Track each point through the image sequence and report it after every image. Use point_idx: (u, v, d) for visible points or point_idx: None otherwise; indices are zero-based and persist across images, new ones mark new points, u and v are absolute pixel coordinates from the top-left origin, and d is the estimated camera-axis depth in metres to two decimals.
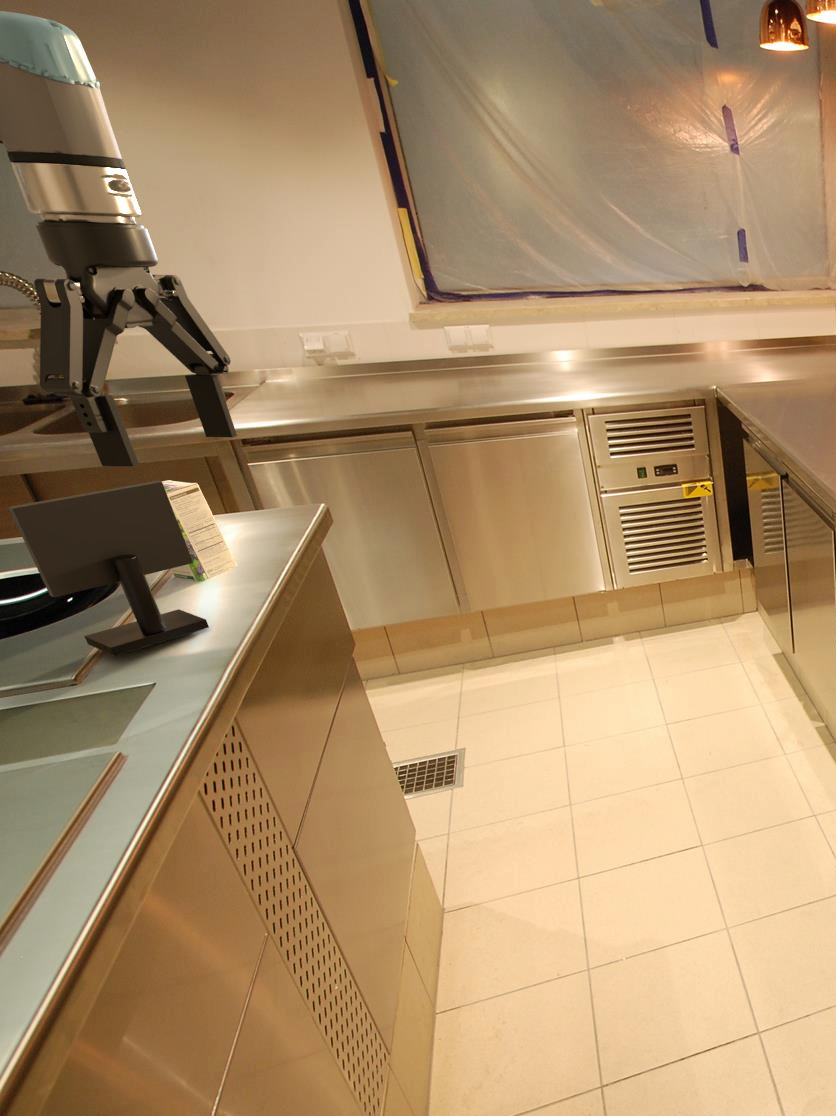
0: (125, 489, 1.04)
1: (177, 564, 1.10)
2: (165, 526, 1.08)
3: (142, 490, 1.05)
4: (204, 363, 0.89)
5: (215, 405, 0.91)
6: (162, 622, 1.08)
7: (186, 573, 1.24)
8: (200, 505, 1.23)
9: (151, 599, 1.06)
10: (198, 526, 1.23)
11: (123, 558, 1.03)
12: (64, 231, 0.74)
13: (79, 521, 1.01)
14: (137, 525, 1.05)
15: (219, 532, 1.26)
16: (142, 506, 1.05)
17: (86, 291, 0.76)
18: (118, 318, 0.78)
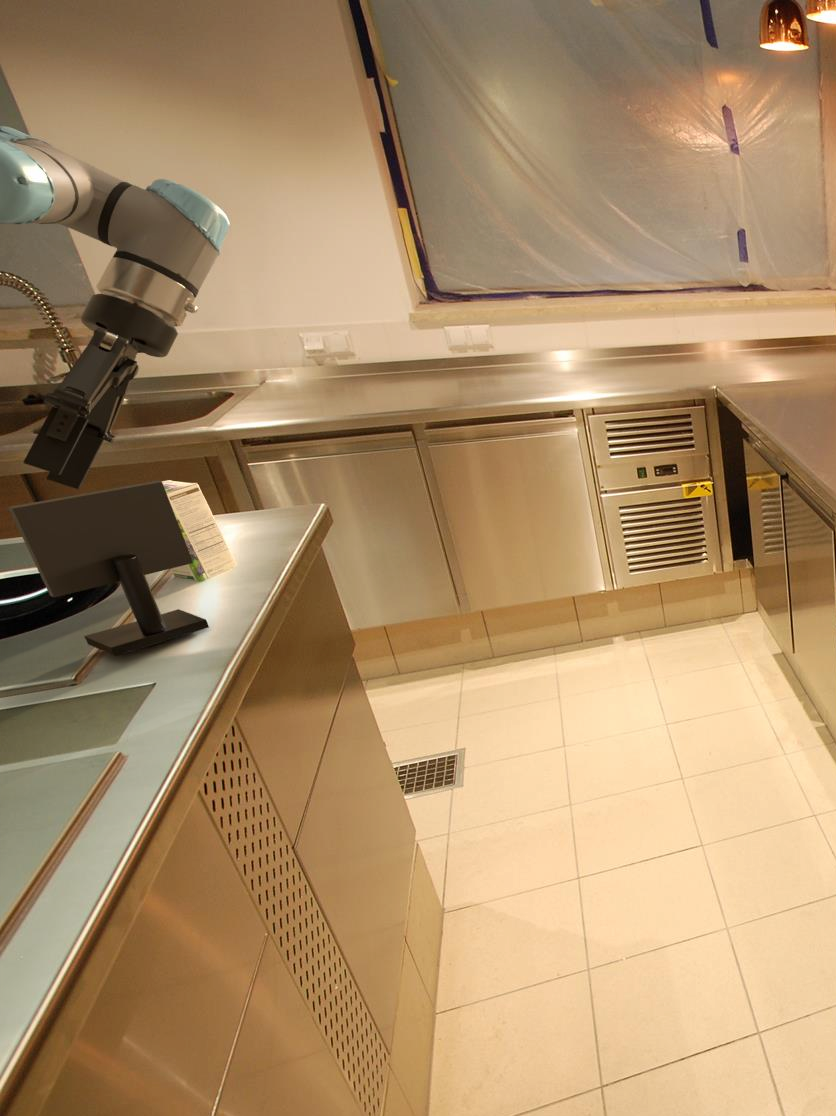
0: (125, 489, 1.04)
1: (177, 564, 1.10)
2: (165, 526, 1.08)
3: (142, 490, 1.05)
4: (104, 428, 1.00)
5: (83, 460, 0.99)
6: (162, 622, 1.08)
7: (186, 573, 1.24)
8: (200, 505, 1.23)
9: (151, 599, 1.06)
10: (198, 526, 1.23)
11: (123, 558, 1.03)
12: (136, 312, 0.94)
13: (79, 521, 1.01)
14: (137, 525, 1.05)
15: (219, 532, 1.26)
16: (142, 506, 1.05)
17: None
18: (123, 376, 0.94)
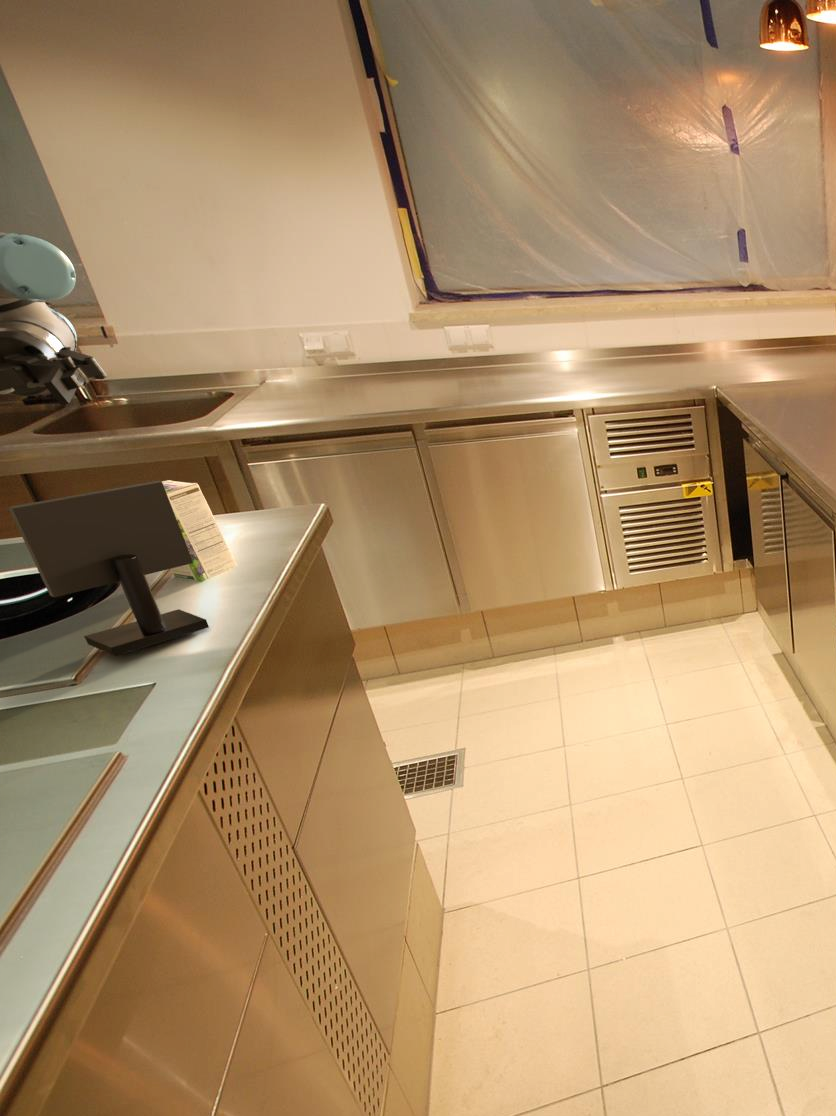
0: (125, 489, 1.04)
1: (177, 564, 1.10)
2: (165, 526, 1.08)
3: (142, 490, 1.05)
4: None
5: None
6: (162, 622, 1.08)
7: (186, 573, 1.24)
8: (200, 505, 1.23)
9: (151, 599, 1.06)
10: (198, 526, 1.23)
11: (123, 558, 1.03)
12: (56, 356, 1.10)
13: (79, 521, 1.01)
14: (137, 525, 1.05)
15: (219, 532, 1.26)
16: (142, 506, 1.05)
17: None
18: None
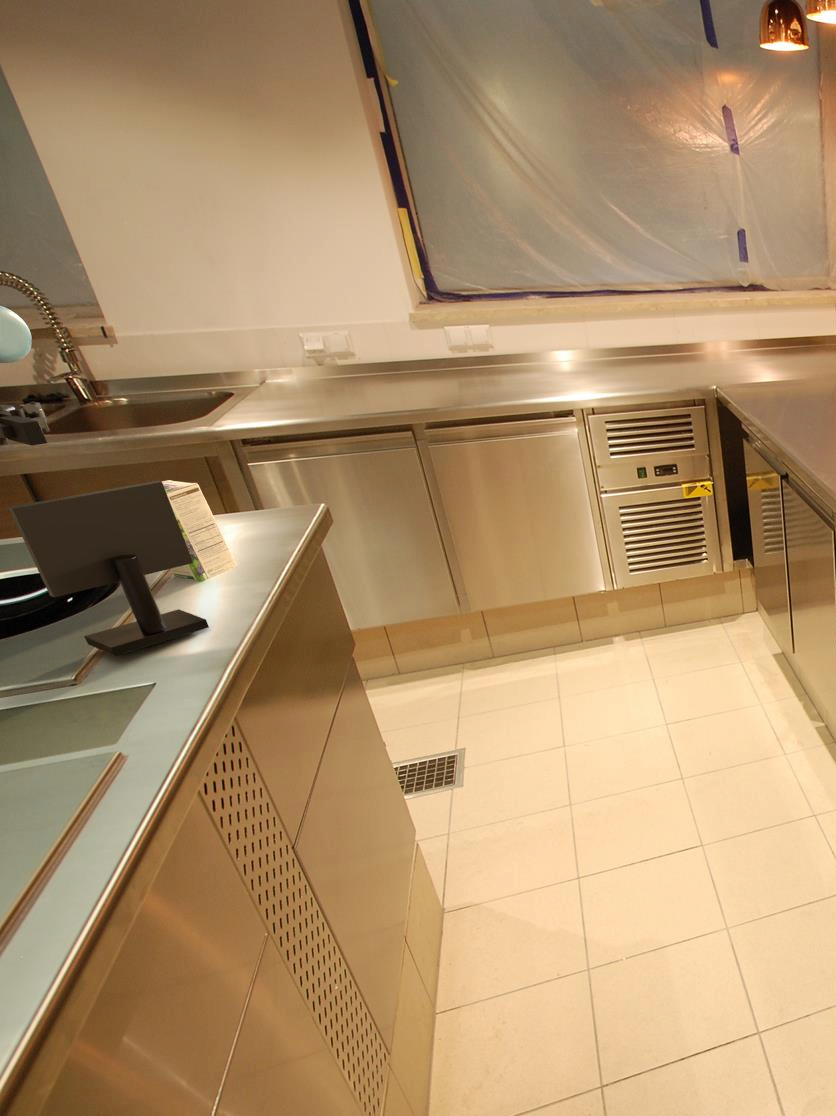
0: (125, 489, 1.04)
1: (177, 564, 1.10)
2: (165, 526, 1.08)
3: (142, 490, 1.05)
4: None
5: None
6: (162, 622, 1.08)
7: (186, 573, 1.24)
8: (200, 505, 1.23)
9: (151, 599, 1.06)
10: (198, 526, 1.23)
11: (123, 558, 1.03)
12: None
13: (79, 521, 1.01)
14: (137, 525, 1.05)
15: (219, 532, 1.26)
16: (142, 506, 1.05)
17: None
18: None
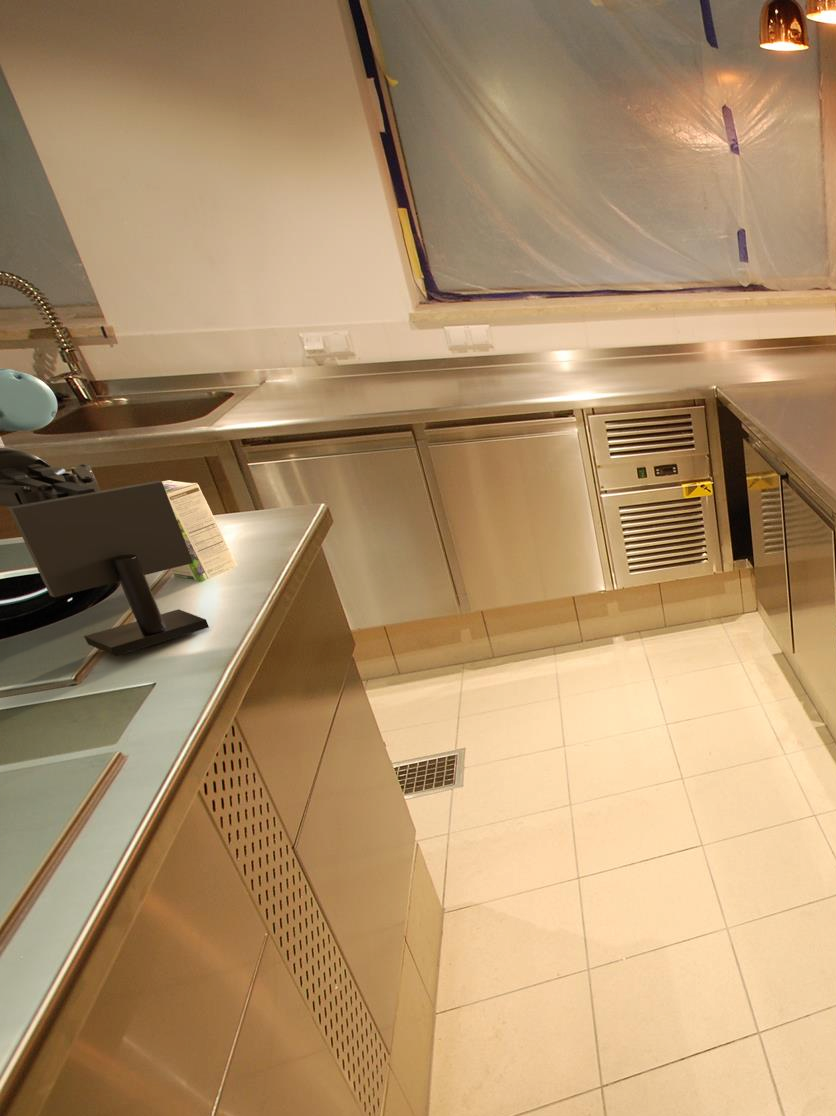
0: (125, 489, 1.04)
1: (176, 564, 1.10)
2: (165, 526, 1.08)
3: (142, 490, 1.05)
4: None
5: None
6: (162, 622, 1.08)
7: (186, 573, 1.24)
8: (200, 505, 1.23)
9: (151, 599, 1.06)
10: (198, 526, 1.23)
11: (123, 558, 1.03)
12: None
13: (79, 521, 1.01)
14: (137, 525, 1.05)
15: (219, 532, 1.26)
16: (142, 506, 1.05)
17: None
18: None
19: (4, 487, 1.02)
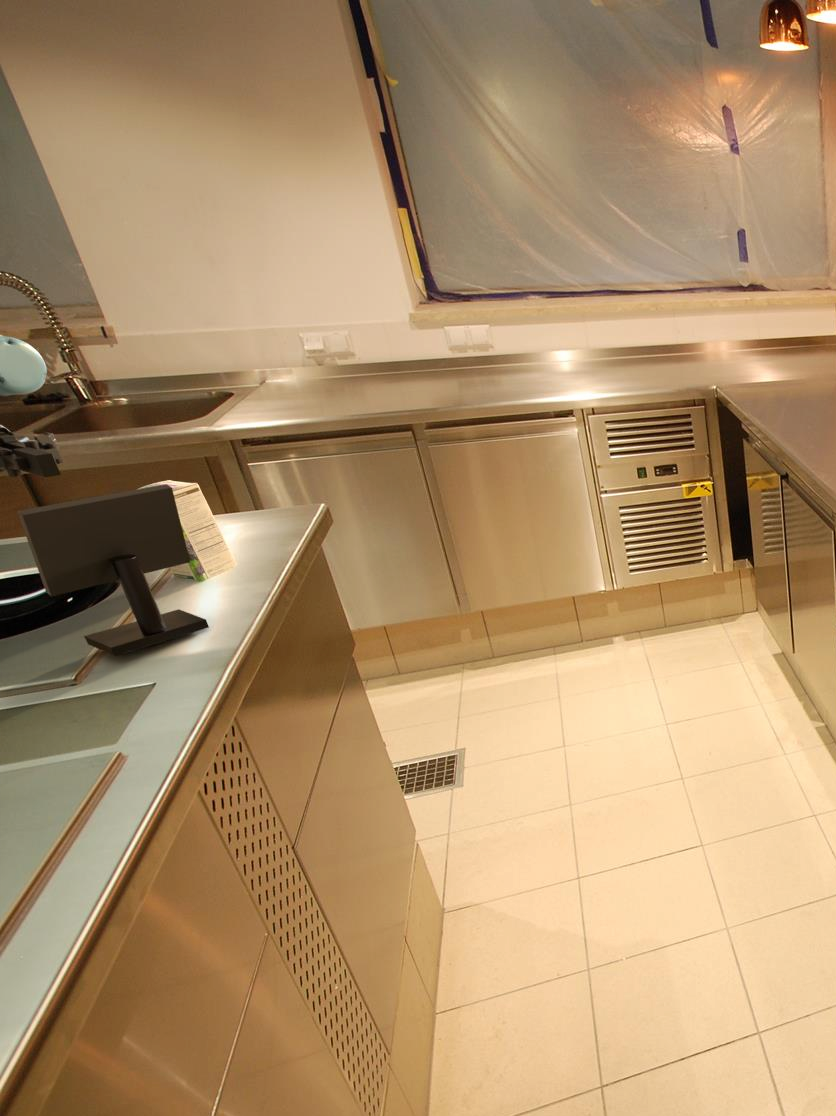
0: (135, 495, 1.03)
1: (174, 563, 1.10)
2: (168, 529, 1.08)
3: (151, 495, 1.04)
4: None
5: None
6: (162, 622, 1.08)
7: (186, 573, 1.24)
8: (200, 505, 1.23)
9: (151, 599, 1.06)
10: (198, 526, 1.23)
11: (123, 558, 1.03)
12: None
13: (86, 526, 1.00)
14: (141, 528, 1.05)
15: (219, 532, 1.26)
16: (149, 510, 1.05)
17: None
18: None
19: None
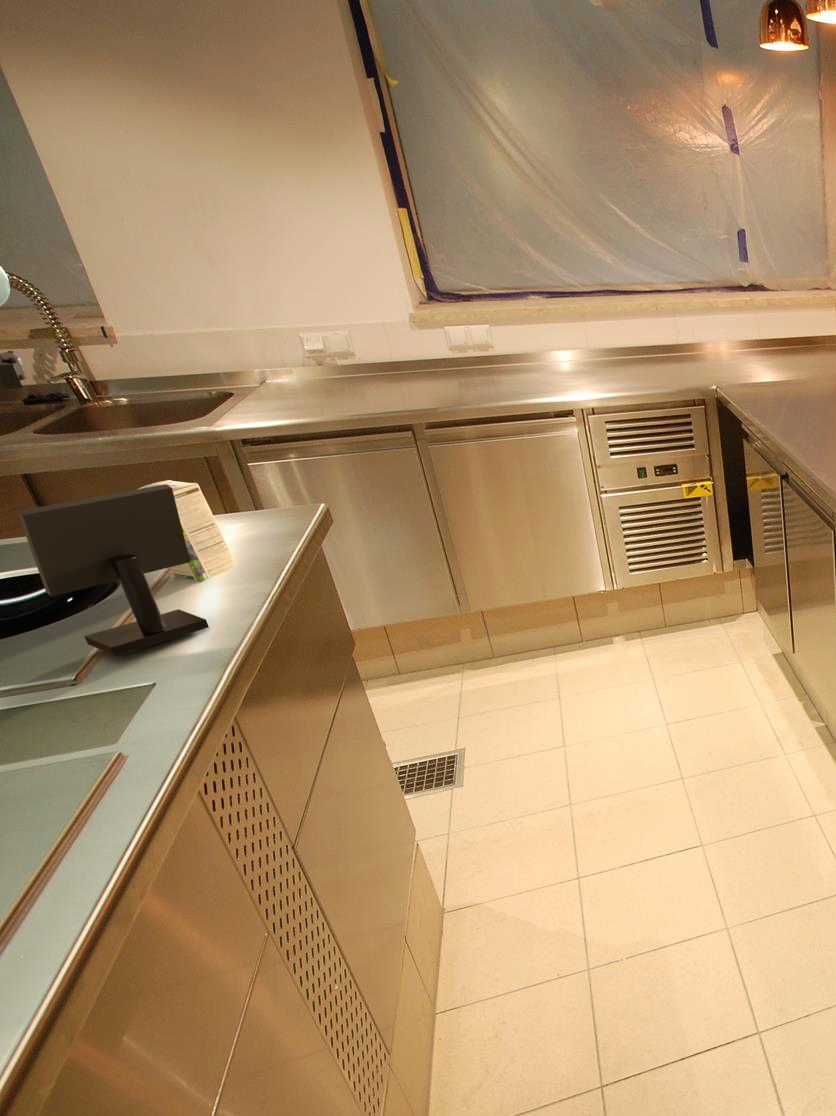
0: (135, 495, 1.03)
1: (174, 563, 1.10)
2: (168, 529, 1.08)
3: (151, 495, 1.04)
4: None
5: None
6: (162, 622, 1.08)
7: (186, 573, 1.24)
8: (200, 505, 1.23)
9: (151, 599, 1.06)
10: (198, 526, 1.23)
11: (123, 558, 1.03)
12: None
13: (86, 526, 1.00)
14: (141, 528, 1.05)
15: (219, 532, 1.26)
16: (149, 510, 1.05)
17: None
18: None
19: None
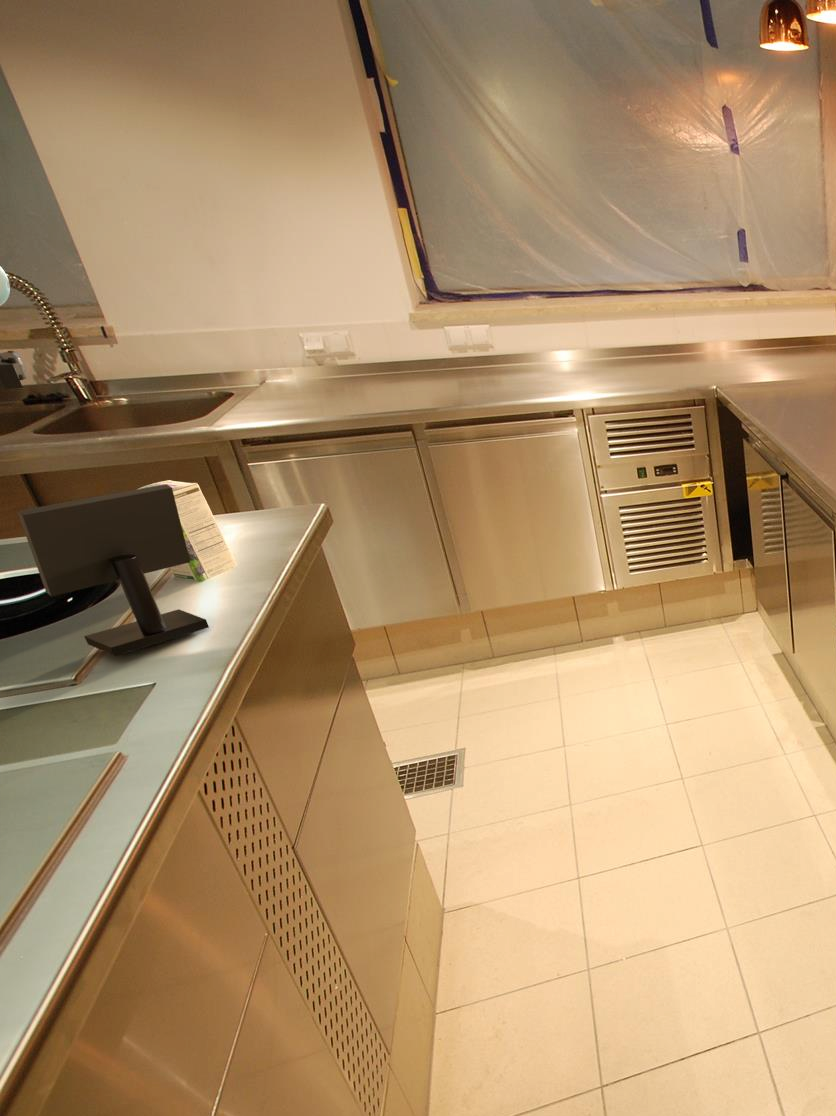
0: (135, 495, 1.03)
1: (174, 563, 1.10)
2: (168, 529, 1.08)
3: (151, 495, 1.04)
4: None
5: None
6: (162, 622, 1.08)
7: (186, 573, 1.24)
8: (200, 505, 1.23)
9: (151, 599, 1.06)
10: (198, 526, 1.23)
11: (123, 558, 1.03)
12: None
13: (86, 526, 1.00)
14: (141, 528, 1.05)
15: (219, 532, 1.26)
16: (149, 510, 1.05)
17: None
18: None
19: None
